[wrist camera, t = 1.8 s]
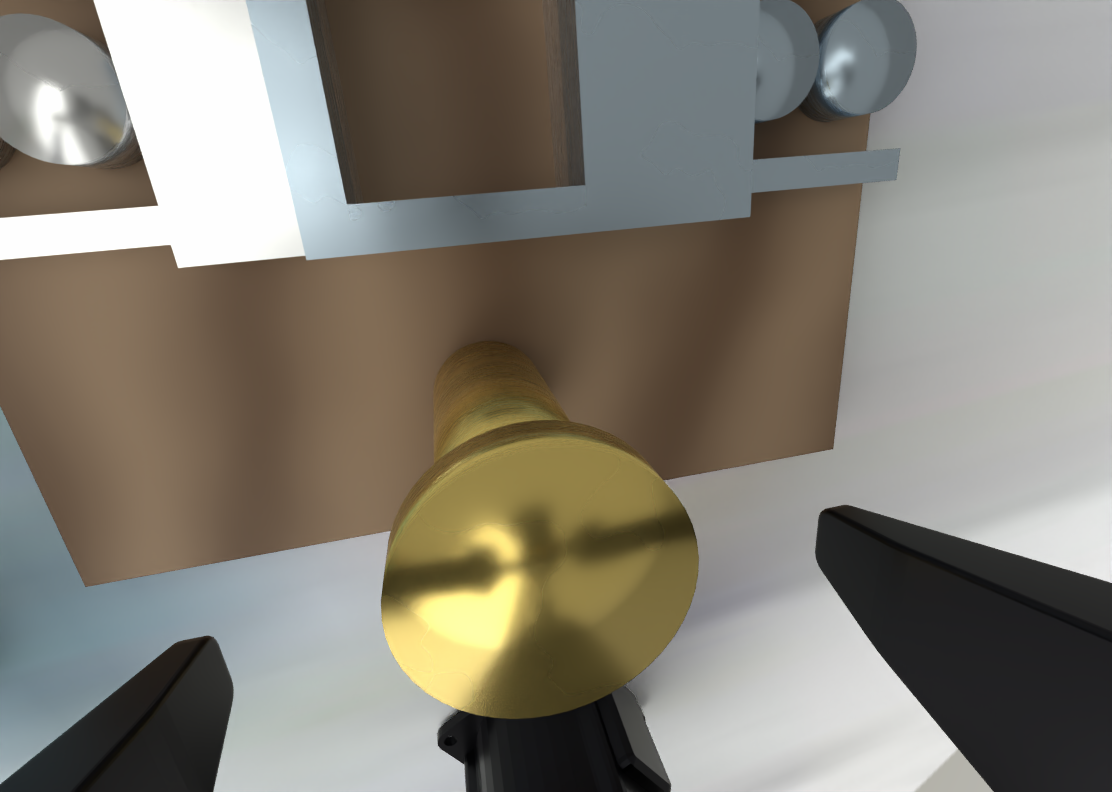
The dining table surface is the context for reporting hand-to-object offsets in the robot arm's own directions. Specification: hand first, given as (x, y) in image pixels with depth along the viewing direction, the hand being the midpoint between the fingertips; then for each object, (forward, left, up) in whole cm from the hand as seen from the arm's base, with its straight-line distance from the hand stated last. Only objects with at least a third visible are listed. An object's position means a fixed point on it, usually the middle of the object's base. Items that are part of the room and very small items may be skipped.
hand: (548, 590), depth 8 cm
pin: (0, 0, -9) cm, 9 cm away
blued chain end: (+8, +4, -9) cm, 13 cm away
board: (+2, +3, -10) cm, 11 cm away
